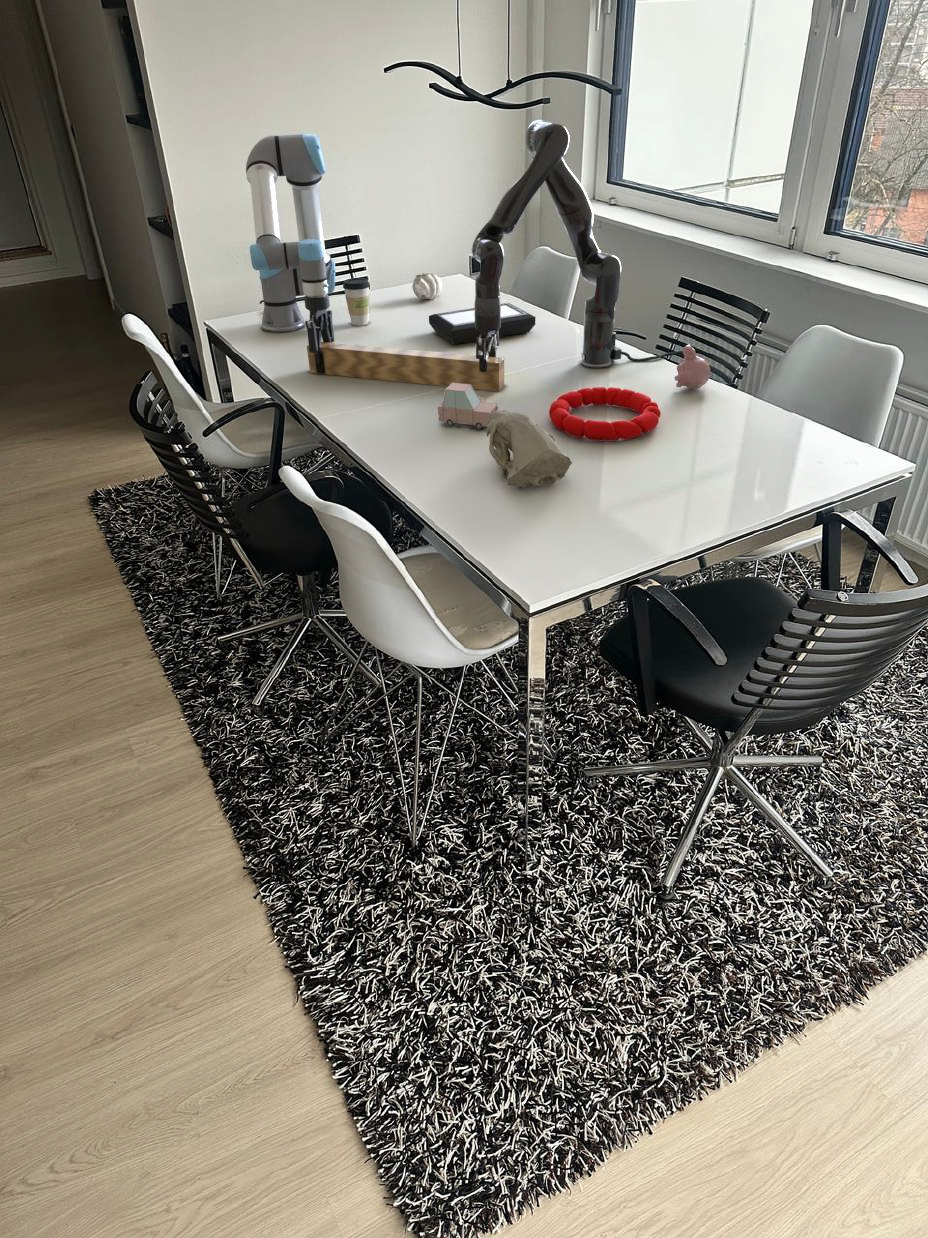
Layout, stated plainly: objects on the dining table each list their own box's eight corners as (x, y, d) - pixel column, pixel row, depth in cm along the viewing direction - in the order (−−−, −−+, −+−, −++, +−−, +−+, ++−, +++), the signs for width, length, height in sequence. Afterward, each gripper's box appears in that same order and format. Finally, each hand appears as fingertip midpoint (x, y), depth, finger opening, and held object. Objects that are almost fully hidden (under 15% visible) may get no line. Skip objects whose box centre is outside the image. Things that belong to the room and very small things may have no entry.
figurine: (665, 387, 264) (669, 347, 257) (693, 380, 268) (698, 340, 261) (686, 396, 257) (690, 355, 250) (714, 388, 262) (720, 348, 255)
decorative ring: (589, 435, 224) (684, 402, 234) (527, 398, 247) (617, 369, 256) (589, 461, 229) (683, 427, 238) (529, 422, 251) (617, 393, 260)
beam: (310, 372, 284) (306, 345, 279) (317, 367, 288) (314, 341, 283) (499, 391, 266) (499, 363, 261) (504, 385, 269) (504, 357, 265)
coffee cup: (372, 326, 323) (368, 283, 314) (345, 327, 323) (340, 284, 315) (374, 318, 331) (371, 276, 322) (348, 319, 331) (344, 277, 323)
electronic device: (451, 328, 298) (428, 313, 313) (451, 346, 301) (429, 331, 316) (535, 314, 308) (509, 300, 323) (535, 332, 311) (509, 318, 326)
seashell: (406, 298, 352) (404, 272, 346) (439, 293, 358) (438, 267, 352) (417, 304, 345) (416, 278, 339) (451, 298, 350) (450, 272, 345)
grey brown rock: (496, 517, 219) (521, 479, 201) (463, 429, 225) (484, 384, 207) (557, 503, 225) (586, 465, 206) (523, 417, 231) (549, 373, 212)
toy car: (488, 432, 240) (488, 396, 234) (436, 426, 244) (434, 390, 239) (499, 419, 247) (499, 384, 241) (448, 413, 252) (447, 379, 246)
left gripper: (313, 303, 263) (322, 380, 277) (340, 287, 277) (348, 361, 291) (290, 301, 266) (301, 377, 279) (319, 286, 280) (327, 359, 293)
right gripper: (492, 319, 249) (492, 376, 258) (507, 306, 260) (506, 360, 269) (467, 317, 251) (467, 373, 260) (483, 304, 262) (483, 358, 271)
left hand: (325, 369), depth 285 cm, fingers closed on beam, 5 cm apart
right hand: (487, 367), depth 265 cm, fingers open, 8 cm apart
